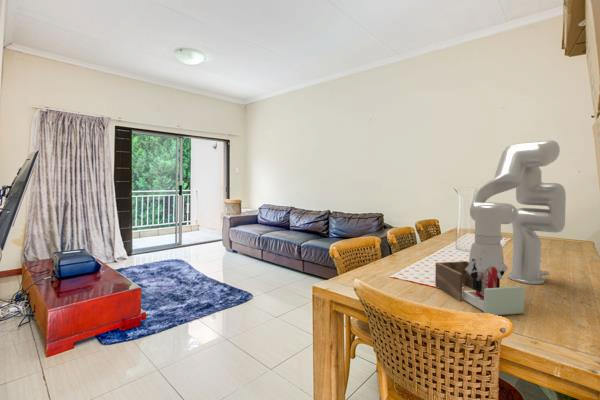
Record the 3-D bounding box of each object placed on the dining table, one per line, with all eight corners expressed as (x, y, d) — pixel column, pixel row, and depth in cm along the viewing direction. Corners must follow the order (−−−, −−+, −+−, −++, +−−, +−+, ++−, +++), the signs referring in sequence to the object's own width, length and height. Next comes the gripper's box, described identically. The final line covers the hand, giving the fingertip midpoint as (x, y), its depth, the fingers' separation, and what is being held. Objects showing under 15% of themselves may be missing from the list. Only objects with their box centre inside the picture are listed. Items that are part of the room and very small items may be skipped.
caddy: (466, 284, 120) (466, 261, 119) (494, 298, 105) (495, 272, 104) (435, 286, 118) (435, 262, 117) (459, 301, 103) (460, 274, 102)
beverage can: (500, 302, 96) (501, 267, 95) (480, 300, 97) (480, 266, 97) (491, 294, 102) (492, 262, 101) (472, 293, 104) (473, 261, 103)
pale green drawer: (488, 295, 107) (489, 272, 107) (523, 313, 92) (524, 287, 92) (455, 297, 106) (456, 274, 105) (485, 316, 91) (486, 289, 90)
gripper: (500, 236, 103) (499, 284, 104) (457, 238, 101) (456, 287, 102) (519, 241, 96) (517, 292, 97) (472, 243, 94) (471, 295, 95)
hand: (486, 289), depth 100 cm, fingers closed on beverage can, 6 cm apart
